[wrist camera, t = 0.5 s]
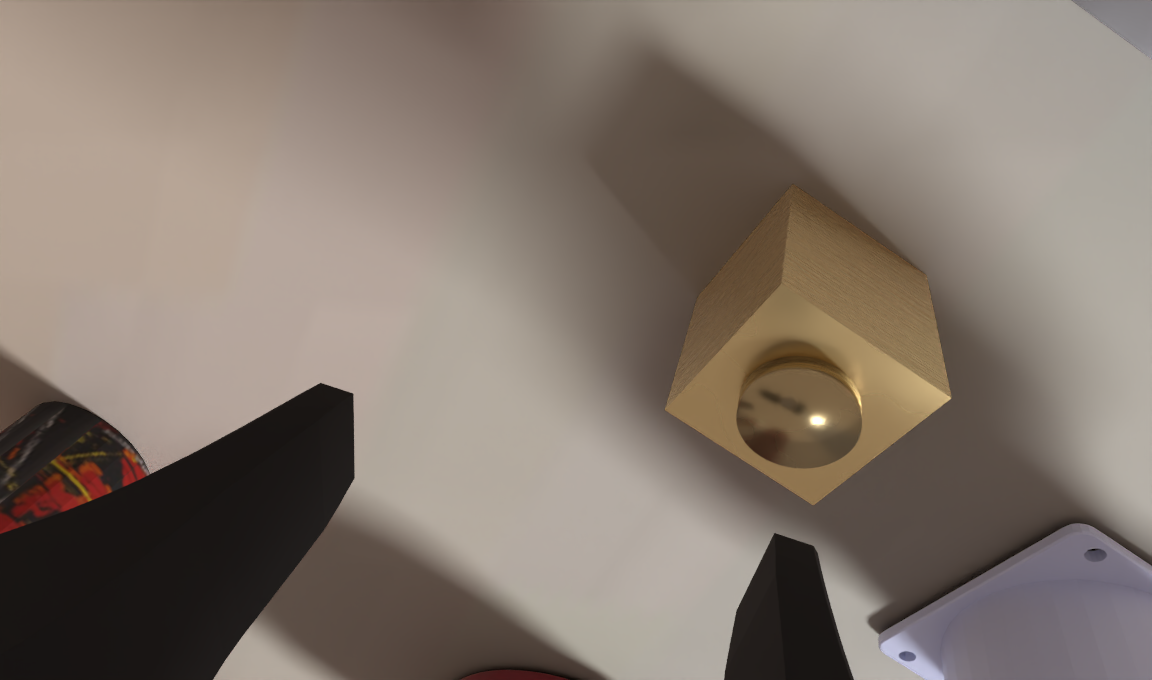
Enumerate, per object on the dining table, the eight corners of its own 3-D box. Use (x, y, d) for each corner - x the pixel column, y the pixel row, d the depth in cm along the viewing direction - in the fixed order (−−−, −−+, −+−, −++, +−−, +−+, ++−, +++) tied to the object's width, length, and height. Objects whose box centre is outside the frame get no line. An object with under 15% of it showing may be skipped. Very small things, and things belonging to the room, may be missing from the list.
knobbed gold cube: (926, 274, 19) (955, 417, 14) (817, 375, 21) (812, 525, 16) (792, 183, 18) (779, 300, 14) (697, 296, 21) (659, 427, 16)
